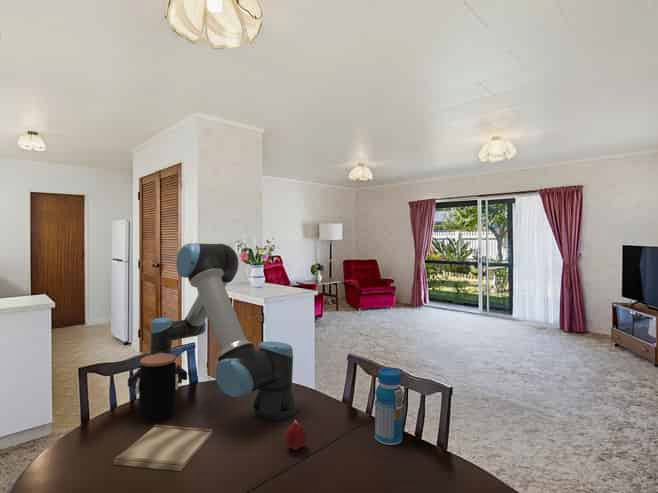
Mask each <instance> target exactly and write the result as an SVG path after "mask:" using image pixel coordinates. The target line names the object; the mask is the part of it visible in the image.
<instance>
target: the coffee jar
mask: <svg viewBox="0 0 658 493" xmlns="http://www.w3.org/2000/svg"><path fill="white" fill-rule="evenodd" d="M176 361H177V356H176V355H175V354H172V353H171V354H155V355H150V354H149V355H147V356H144V357H142V358H140V361H139V364H140V365H141V366H140V367H139V369H140V380H139V382H140V384H139V394H138V415H139V417H140V418H141V419H142V420H144V421H148V422H149V421H151V422H152V421H153V422H154V421H159V420H164V419H166V418H168V417H170V416H171V415H172V414H173V413H174V411H175V409H176V387H175V384H176V367H177V363H176Z"/></svg>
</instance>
